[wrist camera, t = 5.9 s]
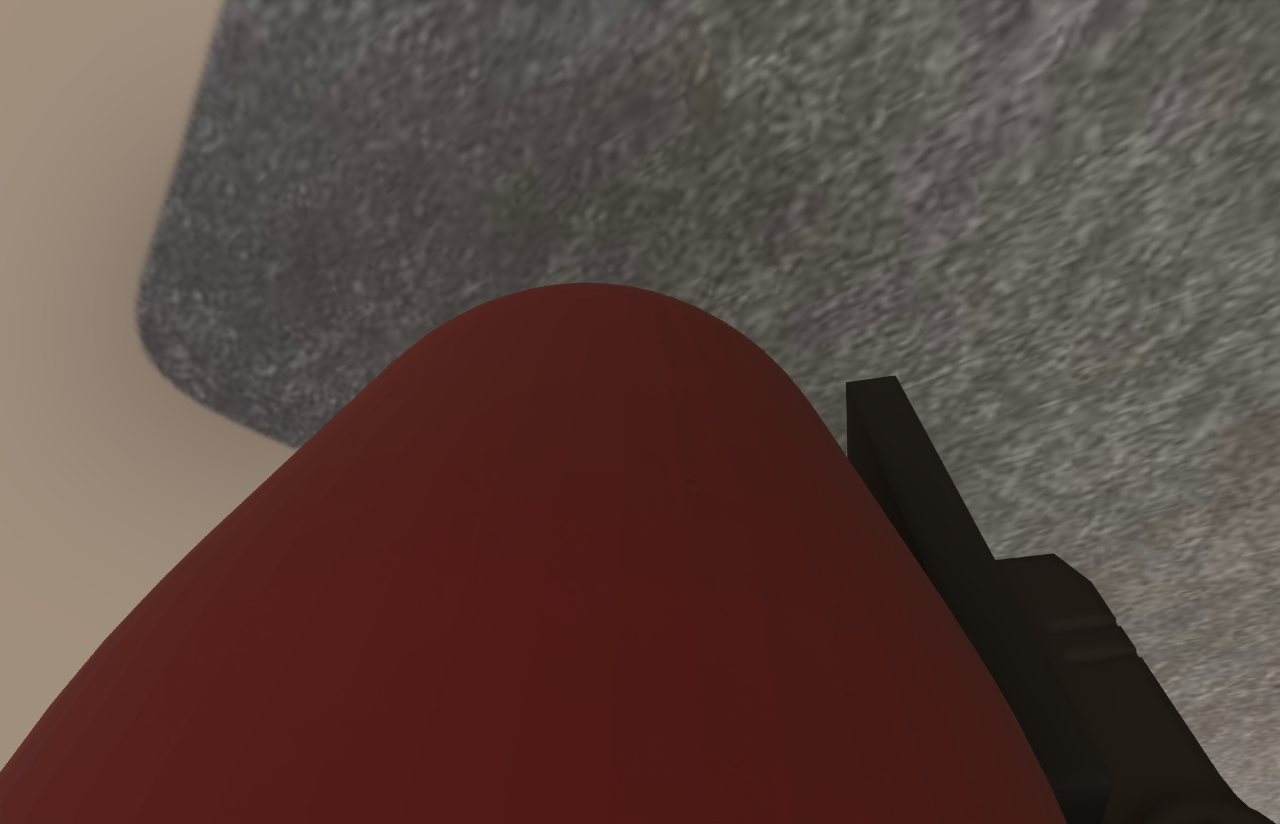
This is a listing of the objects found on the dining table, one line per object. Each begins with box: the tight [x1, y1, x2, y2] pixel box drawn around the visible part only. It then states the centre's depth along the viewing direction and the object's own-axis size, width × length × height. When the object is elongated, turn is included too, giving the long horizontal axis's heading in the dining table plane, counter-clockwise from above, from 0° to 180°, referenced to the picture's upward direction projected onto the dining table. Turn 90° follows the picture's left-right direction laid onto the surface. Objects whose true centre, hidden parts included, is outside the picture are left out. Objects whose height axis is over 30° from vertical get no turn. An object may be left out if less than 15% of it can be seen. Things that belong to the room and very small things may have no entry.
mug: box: [0, 283, 1067, 824], centre depth 9 cm, size 11×8×10 cm
